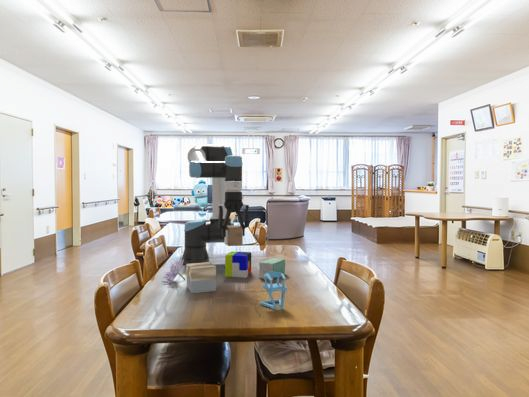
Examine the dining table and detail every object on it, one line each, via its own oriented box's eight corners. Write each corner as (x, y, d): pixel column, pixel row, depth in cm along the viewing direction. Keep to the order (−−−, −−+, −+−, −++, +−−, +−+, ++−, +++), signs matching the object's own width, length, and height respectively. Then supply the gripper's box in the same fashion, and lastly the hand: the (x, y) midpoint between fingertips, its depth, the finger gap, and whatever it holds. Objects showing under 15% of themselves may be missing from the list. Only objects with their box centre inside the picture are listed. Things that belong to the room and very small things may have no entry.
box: (285, 273, 182) (285, 258, 181) (273, 280, 169) (273, 263, 169) (271, 272, 185) (271, 257, 184) (258, 278, 173) (258, 262, 172)
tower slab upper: (186, 275, 158) (186, 263, 157) (209, 273, 162) (209, 261, 161) (191, 281, 148) (191, 268, 148) (216, 278, 152) (216, 266, 152)
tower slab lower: (186, 287, 158) (186, 275, 158) (210, 285, 162) (210, 273, 161) (191, 294, 149) (191, 281, 148) (216, 291, 152) (216, 279, 152)
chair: (269, 311, 128) (269, 276, 127) (259, 304, 136) (260, 271, 135) (289, 308, 131) (290, 274, 130) (279, 301, 139) (279, 269, 138)
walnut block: (225, 243, 168) (225, 225, 167) (237, 242, 170) (237, 225, 169) (228, 245, 162) (228, 227, 162) (242, 245, 164) (242, 226, 164)
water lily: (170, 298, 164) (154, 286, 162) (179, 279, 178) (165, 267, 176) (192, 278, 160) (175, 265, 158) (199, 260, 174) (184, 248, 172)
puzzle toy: (246, 277, 174) (246, 256, 173) (225, 276, 176) (225, 255, 175) (251, 272, 184) (251, 252, 183) (231, 271, 186) (231, 251, 185)
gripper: (214, 191, 158) (214, 246, 159) (256, 191, 165) (256, 243, 166) (210, 191, 165) (210, 243, 166) (251, 190, 172) (251, 241, 173)
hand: (233, 243), depth 166 cm, fingers closed on walnut block, 6 cm apart
